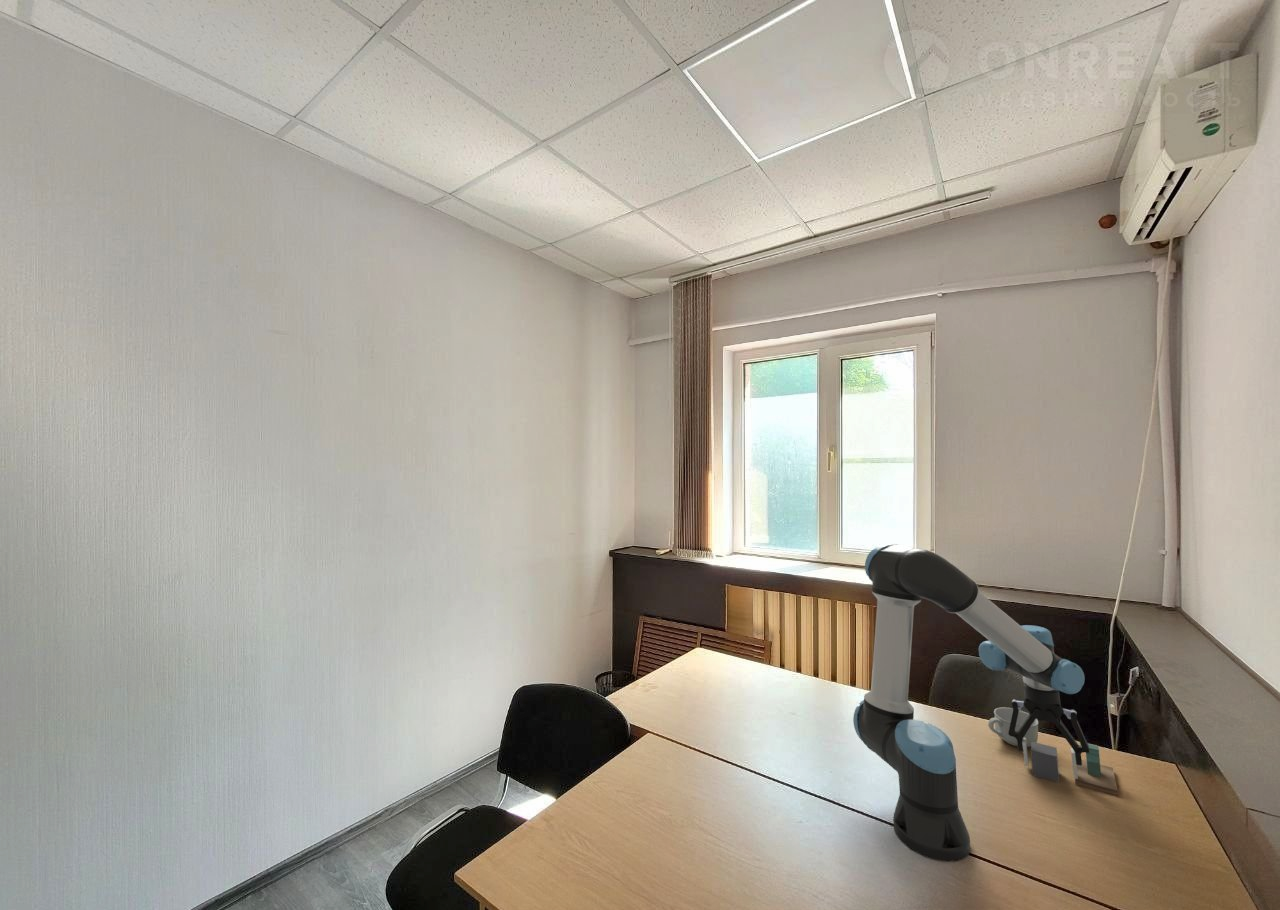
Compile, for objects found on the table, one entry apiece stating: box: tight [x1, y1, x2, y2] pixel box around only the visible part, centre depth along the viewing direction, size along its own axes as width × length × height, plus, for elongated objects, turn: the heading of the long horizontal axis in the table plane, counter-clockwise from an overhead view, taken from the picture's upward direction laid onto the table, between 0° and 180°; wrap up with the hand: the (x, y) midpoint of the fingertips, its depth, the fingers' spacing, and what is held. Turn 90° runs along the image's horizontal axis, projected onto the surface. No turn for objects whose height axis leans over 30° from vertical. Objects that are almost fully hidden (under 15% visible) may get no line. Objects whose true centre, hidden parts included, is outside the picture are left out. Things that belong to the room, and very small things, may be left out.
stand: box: [1074, 742, 1119, 796], centre depth 130 cm, size 12×8×8 cm, turn 140°
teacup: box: [987, 706, 1039, 748], centre depth 148 cm, size 14×11×8 cm
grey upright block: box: [1030, 742, 1060, 783], centre depth 132 cm, size 5×5×7 cm
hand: (1050, 769), depth 132 cm, fingers open, 9 cm apart
